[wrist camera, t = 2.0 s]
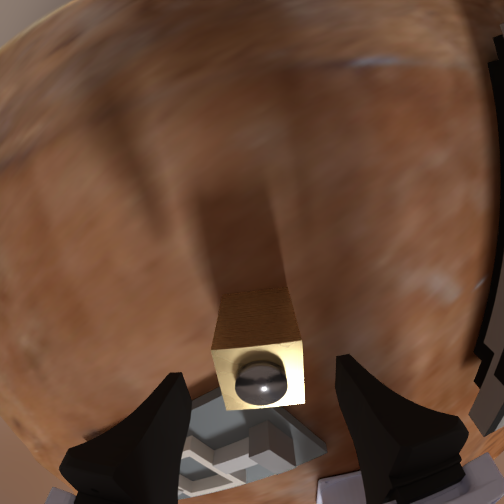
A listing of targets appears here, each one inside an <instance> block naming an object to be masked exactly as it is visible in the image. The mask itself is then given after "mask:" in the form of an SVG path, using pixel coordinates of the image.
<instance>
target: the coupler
mask: <svg viewBox="0 0 504 504" xmlns="http://www.w3.org/2000/svg"><path fill="white" fill-rule="evenodd" d="M211 353H212V357H213V361H214V365H215V369H216V373H217V377H218V381H219V385H220V388H221V392H222V396H223V399H224V403H225V407H226V410H227V411H228V410H244V409H257V408H267V407H277V406H285V405H293V404H300V403H305V395H304V370H303V350H302V339H301V335H300V331H299V328H298V324H297V320H296V316H295V313H294V309H293V305H292V302H291V298H290V294H289V291H288V287H282V288H274V289H266V290H258V291H249V292H240V293H231V294H223V295H222V300H221V304H220V309H219V314H218V318H217V323H216V328H215V332H214V337H213V342H212V347H211Z"/></svg>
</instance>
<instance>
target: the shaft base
mask: <svg viewBox="0 0 504 504" xmlns="http://www.w3.org/2000/svg"><path fill="white" fill-rule="evenodd" d="M326 453H328V452H327V448H326V443H325V442H323V441H322V440H321V439H320V438H318V437H317V436H316V435H315V434H313V433H312V432H311V431H310V430H309V429H307V428H306V427H305V426H304V425H303V424H302V423H300V422H299V421H298V420H297V419H296V418H295V417H293V416H292V415H291V414H290V413H289V412H288V411H286V410H285V409H284V408H283V407H282V406H277V407H267V408H257V409H244V410H228V411H227V410H226V407H225V403H224V399H223V396H222V392H221V388H220V387H218V388H216V389H214V390H212V391H210V392H208V393H206V394H204V395H203V396H201V397H199V398H197V399H195V400H193V401H192V411H191V420H190V424H189V429H188V433H187V437H186V441H185V445H184V449H183V453H182V458H181V464H180V474H179V486H178V500H179V499H185V498H190V497H195V496H200V495H204V494H209V493H213V492H217V491H221V490H225V489H229V488H233V487H236V486H240V485H243V484H247V483H250V482H253V481H256V480H260V479H263V478H266V477H269V476H271V475H274V474H276V475H278V474H281V473H283V472H286V471H289V470H291V469H294V468H296V466H298V465H301V464H303V463H305V462H308V461H310V460H312V459H315V458H317V457H319V456H322V455H324V454H326Z"/></svg>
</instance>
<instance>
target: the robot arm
mask: <svg viewBox="0 0 504 504" xmlns="http://www.w3.org/2000/svg"><path fill="white" fill-rule="evenodd" d="M335 389H336V394H337V398H338V402H339V406H340V408H341V411H342V413H343V416H344V419H345V421H346V424H347V426H348V429H349V431H350V434H351V437H352V439H353V442H354V445H355V449H356V453H357V457H358V461H359V465H360V470H361V471H357V472H353V473H348V474H344V475H339V476H334V477H329V478H323V479H320V480H319V481H318V489H317V500H316V504H495V503H496V502H497V501H499V499H501V498H502V497H503V496H504V478H503V476H502V474H501V473H500V471H499V469H498V468H497V466H496V464H495V463H494V461H493V459H492V458H491V456H490V454H489V453H488V452H486V453H484V454H483V455H481V456H479V457H477V458H476V459H474V460H472V461H470V462H468V463H467V464H466V465H464V466H463V467H462V466H461V464H460V462H461V460H462V459H461V457H460V455H459V452H460V451H461V449H462V447H463V446H464V444H465V442H466V440H467V438H468V435H469V432H468V430H467V429H466V427H465V425H464V424H463V422H462V421H461V420H460V418H459V417H458V416H454V415H449V414H445V413H441V412H437V411H434V410H431V409H428V408H426V407H423V406H420V405H418V404H416V403H414V402H412V401H410V400H408V399H406V398H404V397H402V396H400V395H399V394H397V393H395V392H394V391H392V390H391V389H389V388H388V387H386V386H385V385H384V384H382V383H381V382H380V381H379V380H377V379H376V378H375V377H374V376H373V375H371V374H370V373H369V372H368V371H367V370H366V369H365V368H363V367H362V366H361V365H360V364H359V363H358V362H357V361H356V360H355V359H354V358H353V357H352V356H351V355H350V354H346V355H341V356H336V379H335ZM191 411H192V400H191V397H190V394H189V392H188V389H187V386H186V383H185V380H184V377H183V374H182V372H177V373H169V374H168V375H167V376H166V378H165V379H164V380H163V381H162V382H161V383H160V384H159V386H158V387H157V388H156V389H155V390H154V391H153V392H152V393H151V395H150V396H149V397H148V398H147V399H146V400H145V401H144V402H143V403H142V404H141V405H140V406H139V407H138V408H137V409H136V410H135V411H134V412H133V413H131V414H130V415H129V416H128V417H127V418H125V419H124V420H123V421H121V422H120V423H119V424H117V425H116V426H114V427H113V428H111V429H110V430H108V431H107V432H105V433H103V434H102V435H100V436H98V437H96V438H94V439H92V440H90V441H88V442H85V443H83V444H80V445H77V446H75V447H72V448H69V449H68V451H67V453H66V455H65V457H64V459H63V461H62V463H61V465H60V467H59V470H60V472H61V474H62V476H63V477H64V478H65V479H66V480H67V481H68V482H69V483H70V484H71V485H72V486H73V487H74V488H75V489H76V490H77V491H78V493H77V496H75V495H73V494H72V493H69V492H66V491H64V490H61V489H58V488H56V487H52V489H51V491H50V493H49V495H48V497H47V500H46V502H45V504H178V486H179V474H180V464H181V458H182V453H183V449H184V445H185V441H186V437H187V433H188V429H189V424H190V420H191Z"/></svg>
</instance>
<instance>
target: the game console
mask: <svg viewBox="0 0 504 504" xmlns="http://www.w3.org/2000/svg"><path fill="white" fill-rule="evenodd" d="M500 28H501V31H502V35H499V36H496V37H494V38H493V41H494V44H495V47H496V51H497V55H498V60H495V61H492V62H488V68H489V72H490V77H491V82H492V87H493V93H494V99H495V106H496V113H497V121H498V131H499V143H500V162H501V199H500V218H499V231H498V240H497V249H496V256H495V263H494V269H493V275H492V281H491V286H490V291H489V296H488V301H487V305H486V309H485V313H484V317H483V321H482V325H481V329H480V332H479V336H478V339H477V342H476V345H475V349H474V353H475V354H476V355H477V356H478V357H479V358H480V359H481V360H482V361H481V364H480V366H479V369H478V372H477V374H476V377H475V379H474V382H475V384H476V385H477V386H478V387H479V388H480V391H479V393H478V395H477V398H476V400H475V402H474V404H473V406H472V408H471V410H470V412H469V414H468V415H469V416H470V418H471V419H472V420H473V422H474V423H475V425H476V426H477V428H478V429H479V431H480V432H481V434H482V435H483V437H485V436H487V435H488V434H490V433H492V432H494V431H496V430H497V429H499V428H501V427H503V426H504V23H502V24H500Z"/></svg>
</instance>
